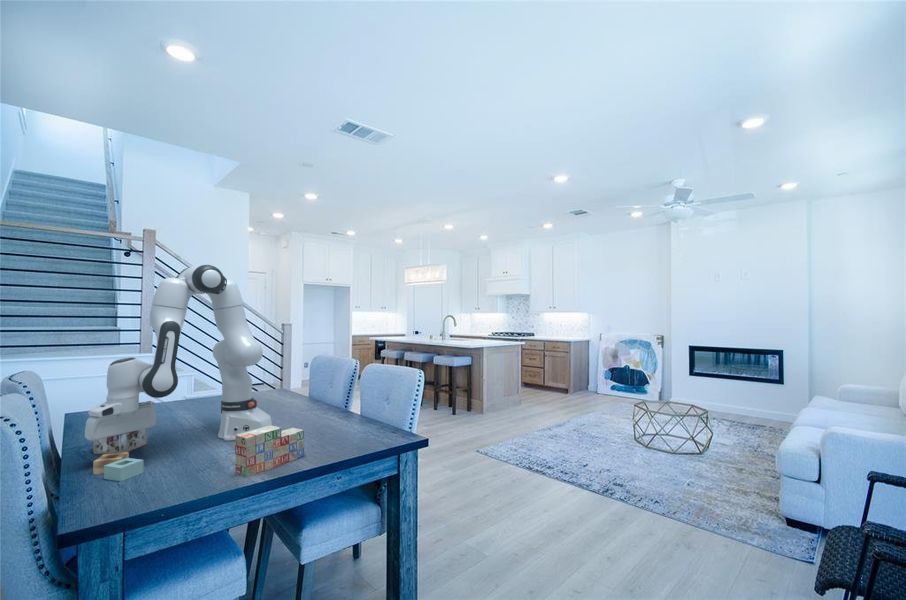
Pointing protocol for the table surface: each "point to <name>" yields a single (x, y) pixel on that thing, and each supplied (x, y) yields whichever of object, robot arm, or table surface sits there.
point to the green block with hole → (123, 469)
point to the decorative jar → (115, 443)
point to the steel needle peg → (122, 443)
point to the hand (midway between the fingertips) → (122, 446)
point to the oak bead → (107, 461)
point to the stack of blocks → (267, 449)
